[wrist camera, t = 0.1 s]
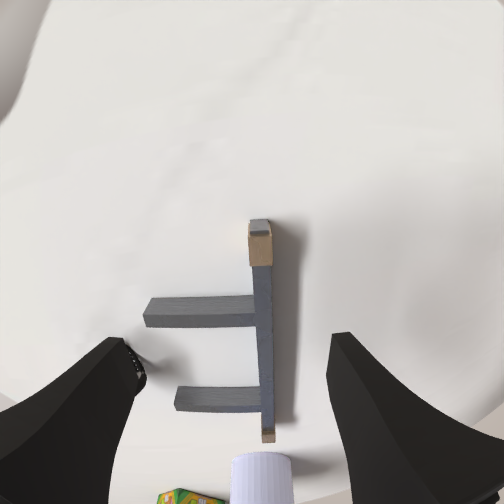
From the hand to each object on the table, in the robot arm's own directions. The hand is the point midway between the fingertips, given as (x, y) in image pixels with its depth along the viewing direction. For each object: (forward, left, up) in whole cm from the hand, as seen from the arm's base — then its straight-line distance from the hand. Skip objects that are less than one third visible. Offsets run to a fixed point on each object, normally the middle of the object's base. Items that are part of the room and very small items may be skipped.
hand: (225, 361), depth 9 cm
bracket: (-8, +2, -9) cm, 12 cm away
